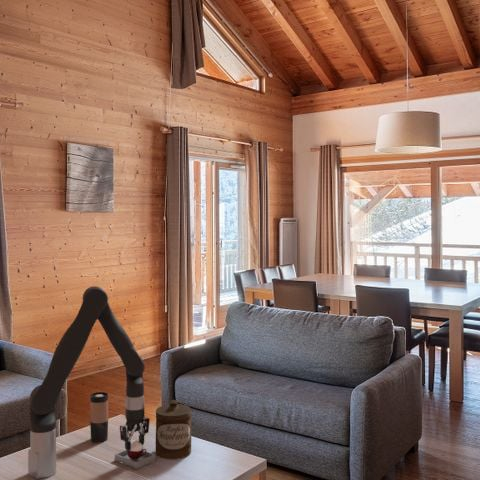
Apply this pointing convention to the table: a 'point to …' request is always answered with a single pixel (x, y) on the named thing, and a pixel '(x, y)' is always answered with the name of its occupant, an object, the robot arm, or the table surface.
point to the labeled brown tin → (173, 431)
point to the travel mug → (99, 416)
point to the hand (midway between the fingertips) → (134, 447)
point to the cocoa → (136, 450)
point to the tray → (135, 463)
